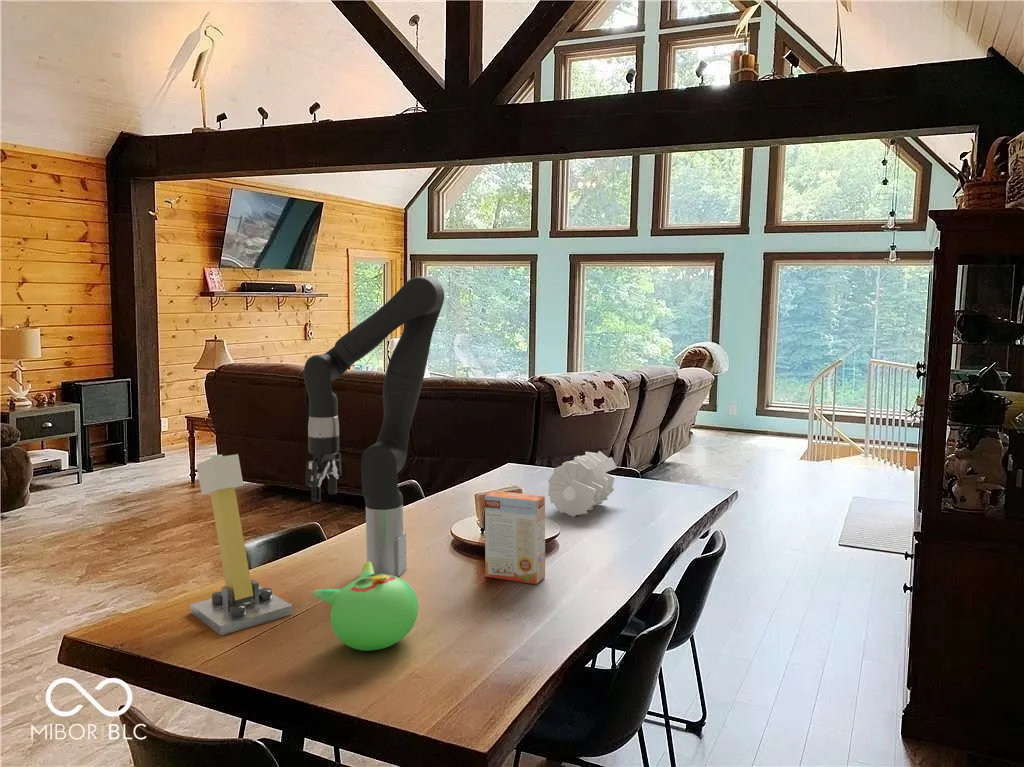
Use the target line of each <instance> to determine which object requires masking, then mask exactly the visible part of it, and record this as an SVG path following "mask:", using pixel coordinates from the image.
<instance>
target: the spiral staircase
mask: <svg viewBox="0 0 1024 767" xmlns="http://www.w3.org/2000/svg"><path fill="white" fill-rule="evenodd" d="M584 453H585V454H583V455H576V456H574V459H572V460H569V461H565V462H563V463H561V464H562V465H560V466H557V467H554V468H553V473H552V474H551V476H550V477H549V478H548V479H547V483H548V492H547V493H548V495H547V496H548V497H549V500H550V504H553V505H554V506H555V508H556V509H557V510H558V511H559V513H560V514H563V513H564V514H567V515H569V516H571V517H574V518H575V517H576V516H578V515H579V516H580V515H587V514H588V511H592V510H594V508H593V507H594V506H597V505H602V504H604V501H608V500H609V499H608V496H610V495H611V494H612V493H613V492H614V491H615V490H616V489H615V487H613V486H614V484H615V480H616V476H614V475H612V474H609V473H608V472H610V471H612V470H615V469H617V468H618V467H617V465H616V463H615V461H614V459H613V457H612V456H610V457H608V456H606V454H604V453H603V452H601V451H600V450H598V451H597V452H590V451H585V452H584Z"/></svg>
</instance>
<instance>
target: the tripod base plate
mask: <svg viewBox="0 0 1024 767" xmlns="http://www.w3.org/2000/svg"><path fill="white" fill-rule="evenodd" d="M251 585H252V591H253V596H252V601H250V602H246V603H243V604H234V605H233V599H232V589H230V588H229V587H227V586H226V585H224V586H221V591H216V592H213V593H212V594H211V598H208V599H205V600H201V601H197V602H193V603H190V604H189V608H190V609H189V610H190V614H191V613H192V614H191V615H193V616H194V617H195V618H197V619H198V620H200V621H201V622H202V623H203V624H205V625H206V626H207V627H209V628H210V629H211V630H213V631H214V632H215V633H216V634H217V635H219V636H224V635H227V634H228V635H229V634H232V633H234V632H237V631H242V630H245V629H248V628H251V627H254V626H258V625H260V624H265V623H267V622H271V621H275V620H278V619H281V618H284V617H288V616H291V615H293V614H294V613H293V604H291V603H289V602H287V601H285V600H284V599H282V598H280V597H279V596H277V595H276V594H274V593H273V589H272V588H271V587H262V586H260V584H259V582H258V581H256V580H255V579H254V578H252V579H251Z"/></svg>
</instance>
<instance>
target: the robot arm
mask: <svg viewBox="0 0 1024 767" xmlns="http://www.w3.org/2000/svg"><path fill="white" fill-rule="evenodd" d="M444 302H445V291H444V288H443V285H442V284H441V283H440V281H439V280H437V279H436V278H434V277H431V276H423V275H421V276H415V277H412V278H410V279H408V280H407V282H405V283H404V284H403V286H401V287H400V289H398V290H397V292H396V293H395V294H394V295H393V296H392V297H391V298H390V299H389V300H388V301H386V302H385V304H383V305H382V306H381V307H380V308H379V309H378V310H377V311H375V312H374V313H373V314H372V315H370V316H369V317H367V318H366V319H364V320H363V321H361V322H360V323H359V324H357V325H356V326H354V328H353V327H352V329H351V330H349V331H348V332H346V333H345V334H344V335H342V336H340V338H339V339H337V341H336V342H335V344H334V346H333V347H332V348H330V349H329V350H327V352H325V353H323V354H314V355H312V356H310V357H309V358H307V360H306V362H305V364H304V368H303V379H304V385H305V389H306V393H307V397H308V424H307V432H308V434H307V437H308V438H307V439H308V441H307V442H308V448H307V449H308V454H311V455H313V458H312V460H306V462H305V485H306V486H309V487H310V491H311V492H310V494H311V496H310V497H311V502H314V503H319V502H320V501H322V494H321V492H322V491H321V490H322V489H321V487H322V486H321V485H322V482H323V480H324V479H325V477H327V493H328V495H336V494H337V493H338V482H337V481H338V479H339V476H342V475H343V474H342V473H343V472H342V453H341V452H339V451H340V421H339V403H338V402H339V401H338V396H337V394H335V393H334V392H333V388H332V382H333V381H334V380H336V379H338V378H340V377H341V376H342V375H344V374H345V372H347V371H348V370H349V369H350V368H351V366H353V364H355V363H356V362H358V361H359V360H360V359H362V358H364V357H365V356H366V355H368V354H370V353H371V352H372V351H373V350H374V349H376V348H377V347H379V345H380V344H382V342H383V341H384V340H386V339H387V337H388V336H390V335H391V334H392V333H393V332H394V331H395V330H396V329H398V328H400V327H401V326H402V325H404V327H403V329H402V330H403V331H402V333H401V335H400V337H399V340H398V341H397V343H396V345H395V348H394V350H393V351H392V354H391V356H390V358H389V362H388V363H387V364H388V365H387V368H386V372H385V376H384V380H383V385H382V402H383V418H382V419H383V420H382V423H381V428H380V431H379V433H378V437H377V440H376V442H375V443H374V444H372V445H370V446H369V447H367V448H366V449H365V450H364V451H363V453H362V456H361V462H360V472H361V490H362V491H361V492H362V495H363V498H364V500H365V537H366V538H365V539H366V544H365V545H366V562H368V561H370V562H371V563H372V566H373V569H374V573H375V574H388V575H393V576H396V577H400V576H401V575H402V574H403V573H404V572H405V571H406V570H407V566H408V564H407V532H406V531H404V500H403V499H404V498H403V494H402V492H401V491H400V490H399V487H398V473H400V471H401V470H402V469H403V468H404V466H405V463H406V460H407V454H408V446H409V439H410V430H411V427H412V426H411V425H412V423H413V419H414V416H415V412H416V410H417V405H418V401H419V397H420V394H421V391H422V387H423V382H424V377H425V374H426V373H425V372H426V368H427V364H428V360H429V355H430V348H431V342H432V337H433V334H434V330H435V327H436V324H437V322H438V319H439V317H440V314H441V311H442V308H443V304H444Z"/></svg>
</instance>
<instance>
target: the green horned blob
mask: <svg viewBox="0 0 1024 767" xmlns="http://www.w3.org/2000/svg"><path fill="white" fill-rule="evenodd" d="M312 595H313V596H314V598H317V599H319V600H321V601H323V602H325V603H327V604H329V605H330V606H331V609H330V615H329V616H330V624H331V628H332V631H333V632H334V634H335V636H336V637H337V638H338V639H339V641H341V642H342V643H343V644H344V645H346V646H347V647H350V648H351V649H353V650H356V651H357V650H358V651H368V652H369V651H378V650H382V649H387V648H388V647H391V646H393V645H395V644H397V643H398V642H401V641H402V640H403V639H404V638H405V637H406V636H407V635H408V634H409V633H410V632H411V631H412V629H413V627H414V625H415V624H416V622H417V618H418V614H419V602H418V597H417V595H416V593H415V590H414V589H413V587H412V586H411V585H410V584H409V583H408V582H407V581H406V580H404V579H402V578H400V576H393V575H388V574H375V573H374V569H373V566H372V563H371V562H370V561H368V562H367V561H366V562H365V563H364V565H363V567H362V569H361V572H360V574H359V576H358V578H357V579H355V580H353V581H351V582H350V583H348V584H347V585H346V586H344V587H343V588H321V589H314V590H313V591H312Z"/></svg>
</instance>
